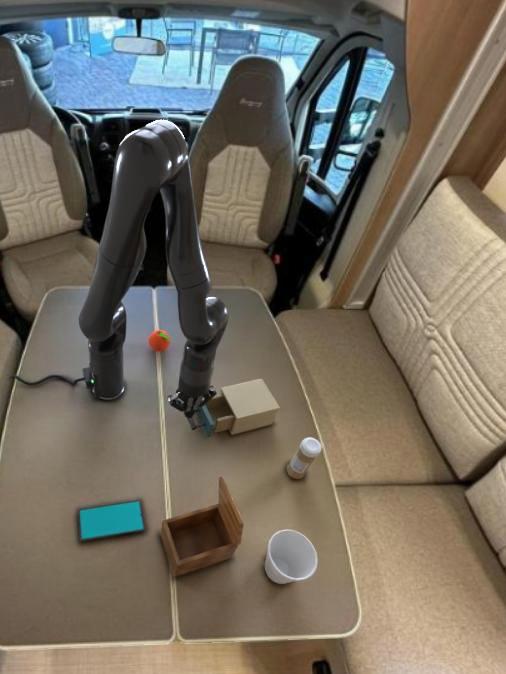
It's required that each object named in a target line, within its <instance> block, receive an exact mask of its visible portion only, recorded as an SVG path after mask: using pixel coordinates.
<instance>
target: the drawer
mask: <svg viewBox="0 0 506 674" xmlns="http://www.w3.org/2000/svg"><path fill="white" fill-rule="evenodd" d="M203 400H204V398H202V401H203ZM195 415H196V417H197V419H198V421H199V424H196V423H195V421H194V417H192V418H188V419H187V418H186V419H187V422H188V424H189V426H190V429H191V430H192V431H195V430H197V429H198V428H202V429H203V432H204V434H205V436H206V438H207V439H208V438H211V437H212V435H213V432H214V433H219V432H224V431H228V430H229V429H231V428H232V427H233V424H234V421H235V416H234V414H233V412H232V410H231V408H230V406H229V405H228V403H227V401H226V399H225V397H224V395H223V394H220V395H219V394H216V395H215V396H214V397H213V398H212V399H211V400H210V401H208V402H207V403H206V404H205V405H204V406H203V407H200V406H199V407H197V409H196V412H195Z"/></svg>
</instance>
